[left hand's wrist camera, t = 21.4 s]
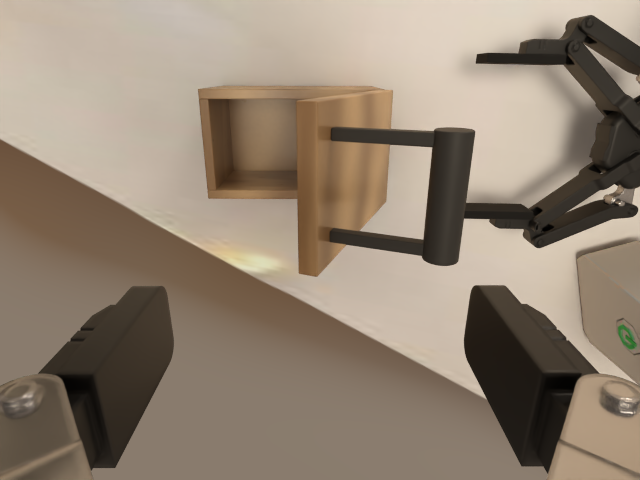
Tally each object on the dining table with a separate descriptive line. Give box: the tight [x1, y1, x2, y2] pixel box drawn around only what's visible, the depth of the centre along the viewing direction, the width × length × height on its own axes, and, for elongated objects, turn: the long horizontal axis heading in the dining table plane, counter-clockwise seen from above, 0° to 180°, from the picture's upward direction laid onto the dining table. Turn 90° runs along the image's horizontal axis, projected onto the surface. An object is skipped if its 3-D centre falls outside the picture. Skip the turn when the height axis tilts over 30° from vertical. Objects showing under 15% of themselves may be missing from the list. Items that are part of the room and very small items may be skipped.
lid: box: [296, 90, 475, 277], centre depth 28 cm, size 16×9×8 cm
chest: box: [198, 86, 384, 199], centre depth 41 cm, size 16×9×9 cm, turn 90°
